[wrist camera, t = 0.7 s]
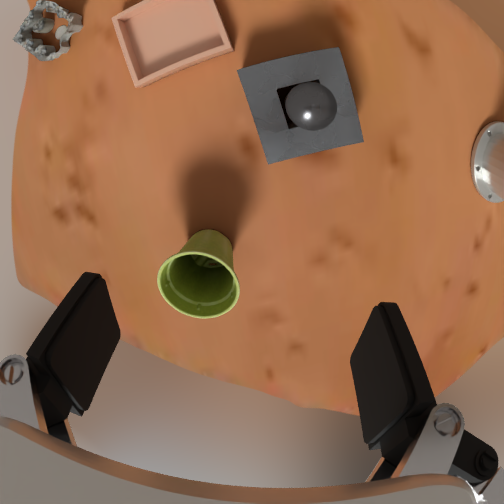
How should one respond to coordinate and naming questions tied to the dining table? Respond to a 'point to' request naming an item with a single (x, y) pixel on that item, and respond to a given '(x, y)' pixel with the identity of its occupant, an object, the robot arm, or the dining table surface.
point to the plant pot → (201, 276)
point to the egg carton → (47, 30)
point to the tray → (169, 37)
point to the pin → (311, 106)
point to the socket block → (271, 113)
